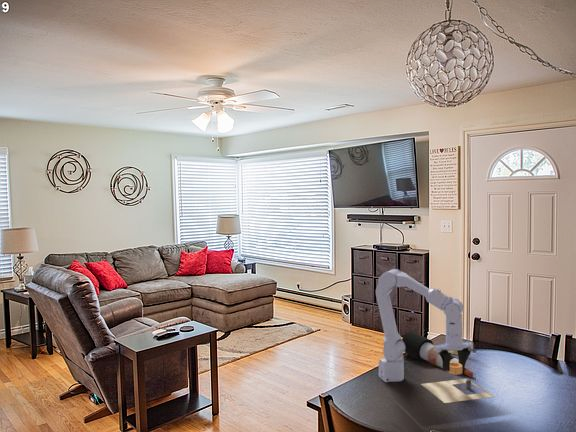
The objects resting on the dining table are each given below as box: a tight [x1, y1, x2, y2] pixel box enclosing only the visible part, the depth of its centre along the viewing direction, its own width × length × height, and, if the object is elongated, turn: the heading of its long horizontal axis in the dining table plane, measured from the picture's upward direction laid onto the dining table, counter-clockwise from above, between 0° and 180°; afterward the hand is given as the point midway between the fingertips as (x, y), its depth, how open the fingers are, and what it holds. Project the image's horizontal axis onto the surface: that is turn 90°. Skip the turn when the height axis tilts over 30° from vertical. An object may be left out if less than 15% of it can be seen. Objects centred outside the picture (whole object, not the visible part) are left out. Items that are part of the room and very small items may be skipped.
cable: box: [401, 330, 474, 378], centre depth 186 cm, size 10×34×10 cm, turn 29°
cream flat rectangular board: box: [420, 378, 495, 404], centre depth 161 cm, size 20×16×4 cm
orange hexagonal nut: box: [445, 362, 463, 376], centre depth 160 cm, size 5×5×3 cm
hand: (454, 369), depth 160 cm, fingers closed on orange hexagonal nut, 5 cm apart
